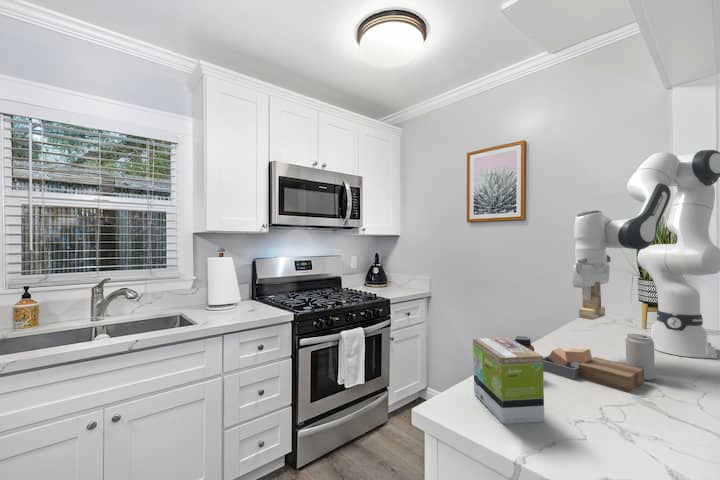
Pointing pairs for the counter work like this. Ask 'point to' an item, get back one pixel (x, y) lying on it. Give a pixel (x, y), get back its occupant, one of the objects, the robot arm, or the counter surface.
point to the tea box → (509, 380)
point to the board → (612, 374)
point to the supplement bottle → (524, 342)
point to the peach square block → (559, 357)
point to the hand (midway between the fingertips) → (591, 298)
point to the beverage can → (641, 354)
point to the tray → (561, 369)
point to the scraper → (592, 304)
